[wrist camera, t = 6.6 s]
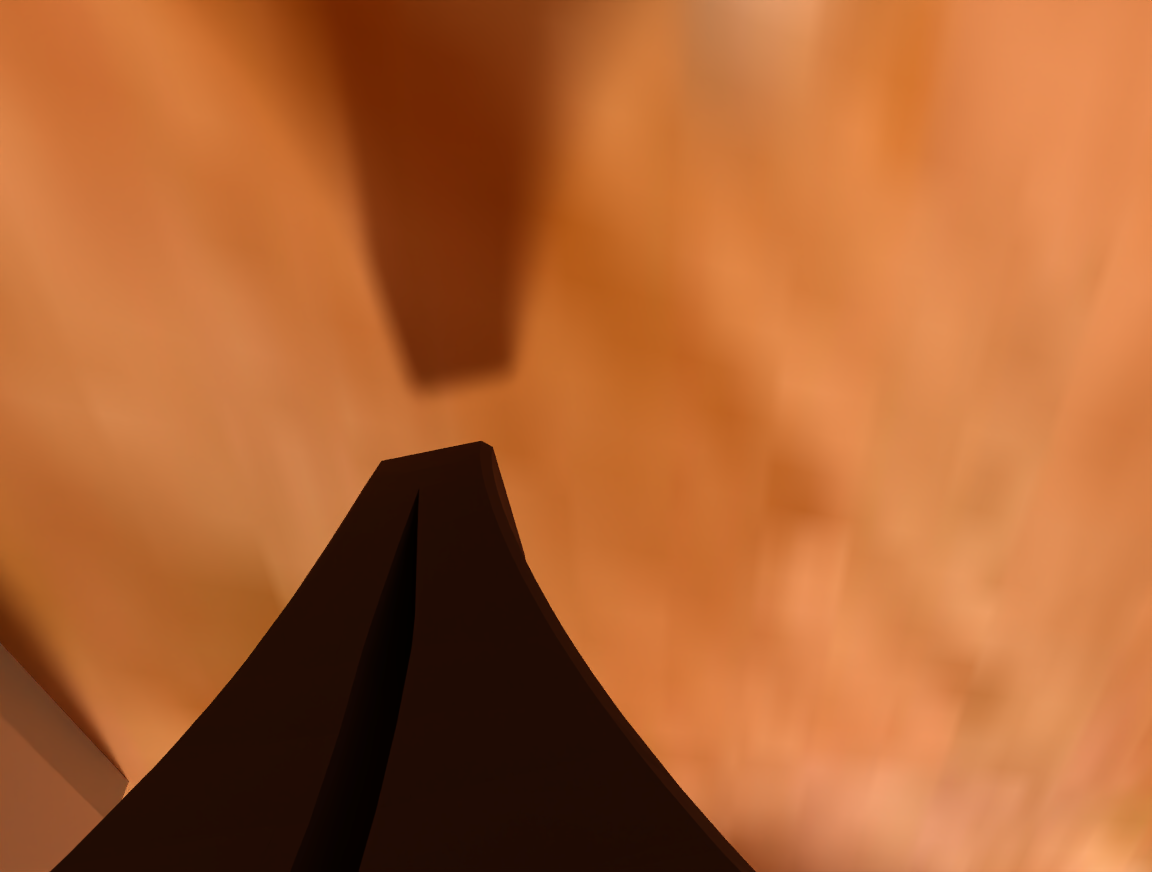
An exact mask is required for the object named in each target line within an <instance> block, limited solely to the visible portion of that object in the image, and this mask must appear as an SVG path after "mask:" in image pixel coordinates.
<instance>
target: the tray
mask: <svg viewBox="0 0 1152 872" xmlns="http://www.w3.org/2000/svg"><path fill="white" fill-rule="evenodd" d="M128 782H129V781H128V780H127V779H126V778H125V777H124V776H123V775H122V774H121V773H120V771H119V770H118V769H117V768H116V767H115V766H114V765H113V764H112V763H111V762H110V761H109V760H108V759H107V757H106V756H105V755H104V754H103V753H102V752H101V751H100V750H99V749H98V748H97V747H96V746H95V744H94V743H93V742H92V741H91V740H90V739H89V738H88V737H87V736H86V735H85V734H84V733H83V731H82V730H81V729H80V728H79V727H78V726H77V725H76V724H75V723H74V722H73V721H72V720H71V719H70V717H69V716H68V715H67V714H66V713H65V712H64V711H63V710H62V709H61V708H60V707H59V706H58V704H57V703H56V702H55V701H54V700H53V699H52V698H51V697H50V696H49V695H48V694H47V693H46V692H45V690H44V689H43V688H42V687H41V686H40V685H39V684H38V683H37V682H36V681H35V680H34V679H33V677H32V676H31V675H30V674H29V673H28V672H27V671H26V670H25V669H24V668H23V667H22V666H21V664H20V663H19V662H18V661H17V660H16V659H15V658H14V657H13V656H12V655H11V654H10V653H9V652H8V650H7V649H6V648H5V647H4V646H3V645H2V644H1V643H0V872H50V871H51V870H52V869H53V868H54V867H55V866H56V865H57V864H58V863H59V862H60V861H62V860H63V859H64V858H65V857H66V856H67V855H68V854H69V853H70V852H71V851H72V850H73V849H74V848H75V847H76V846H77V845H78V844H79V843H80V842H81V841H82V840H83V839H84V838H85V837H86V836H87V835H88V834H89V833H90V832H91V831H92V830H93V829H94V828H95V827H96V826H97V824H98V823H99V822H100V821H101V820H102V819H103V818H104V817H105V816H106V815H107V814H108V813H109V812H110V811H111V810H112V809H113V808H114V807H115V806H116V805H117V804H118V803H119V802H120V801H121V800H122V798H123V795H124V793H125V790H126V787H127V785H128Z"/></svg>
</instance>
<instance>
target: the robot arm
mask: <svg viewBox="0 0 1152 872" xmlns="http://www.w3.org/2000/svg"><path fill="white" fill-rule="evenodd" d="M50 872H755V871H754V870H753V868H752V867H751V866H750V865H749V864H748V863H747V862H746V861H745V860H744V859H743V858H742V857H741V856H740V854H739V853H738V852H737V851H736V850H735V849H734V848H733V847H732V846H731V845H730V844H729V843H728V841H727V840H726V839H725V838H724V837H723V836H722V835H721V833H720V832H719V831H718V830H717V829H716V828H715V827H714V825H713V824H712V823H711V822H710V821H709V820H708V819H707V817H706V816H705V815H704V814H703V813H702V812H701V811H700V809H699V808H698V807H697V806H696V805H695V804H694V803H693V801H692V800H691V799H690V798H689V797H688V796H687V795H686V793H685V792H684V791H683V790H682V789H681V788H680V786H679V785H678V784H677V783H676V781H675V780H674V779H673V778H672V776H671V775H670V774H669V773H668V771H667V770H666V769H665V768H664V766H663V765H662V764H661V763H660V761H659V760H658V759H657V758H656V756H655V755H654V754H653V753H652V751H651V750H650V749H649V748H648V746H647V745H646V744H645V743H644V741H643V740H642V739H641V738H640V736H639V735H638V734H637V732H636V731H635V730H634V729H633V727H632V726H631V725H630V724H629V722H628V721H627V720H626V719H625V717H624V716H623V715H622V713H621V712H620V711H619V709H618V708H617V707H616V705H615V704H614V702H613V701H612V700H611V698H610V697H609V695H608V694H607V693H606V691H605V690H604V688H603V687H602V686H601V684H600V683H599V681H598V680H597V679H596V677H595V676H594V674H593V673H592V671H591V670H590V668H589V667H588V665H587V664H586V662H585V661H584V659H583V658H582V656H581V655H580V653H579V652H578V650H577V649H576V647H575V646H574V644H573V643H572V641H571V640H570V638H569V636H568V635H567V633H566V632H565V630H564V628H563V627H562V625H561V624H560V622H559V620H558V619H557V617H556V615H555V614H554V612H553V610H552V608H551V607H550V605H549V603H548V601H547V599H546V598H545V596H544V594H543V592H542V591H541V589H540V587H539V585H538V583H537V582H536V580H535V578H534V576H533V574H532V572H531V570H530V568H529V566H528V564H527V562H526V560H525V555H524V551H523V548H522V544H521V541H520V538H519V534H518V531H517V527H516V524H515V521H514V517H513V514H512V511H511V507H510V504H509V500H508V497H507V494H506V490H505V487H504V483H503V480H502V477H501V473H500V470H499V467H498V463H497V460H496V456H495V453H494V450H493V447H492V446H490V445H488V444H486V443H484V442H483V441H478V442H473V443H468V444H463V445H458V446H453V447H448V448H443V449H438V450H433V451H429V452H424V453H419V454H414V455H409V456H404V457H399V458H394V459H389V460H384V461H381V463H380V464H379V466H378V467H377V469H376V470H375V472H374V473H373V475H372V476H371V478H370V479H369V481H368V482H367V484H366V485H365V487H364V488H363V490H362V491H361V493H360V495H359V496H358V498H357V499H356V501H355V503H354V504H353V506H352V507H351V509H350V511H349V512H348V514H347V515H346V517H345V519H344V520H343V522H342V523H341V525H340V526H339V528H338V530H337V531H336V533H335V534H334V536H333V537H332V539H331V540H330V542H329V544H328V545H327V547H326V548H325V550H324V551H323V553H322V554H321V556H320V557H319V559H318V560H317V562H316V563H315V565H314V566H313V568H312V569H311V571H310V572H309V574H308V575H307V577H306V578H305V580H304V581H303V583H302V584H301V586H300V587H299V589H298V590H297V592H296V593H295V594H294V596H293V597H292V599H291V600H290V602H289V603H288V604H287V606H286V607H285V609H284V610H283V611H282V613H281V614H280V615H279V617H278V618H277V619H276V621H275V622H274V623H273V625H272V626H271V627H270V629H269V630H268V632H267V633H266V634H265V636H264V637H263V638H262V640H261V641H260V642H259V644H258V645H257V646H256V648H255V649H254V650H253V652H252V653H251V654H250V656H249V657H248V659H247V660H246V661H245V662H244V664H243V665H242V666H241V667H240V669H239V670H238V671H237V672H236V674H235V675H234V676H233V677H232V679H231V680H230V681H229V682H228V684H227V685H226V686H225V687H224V688H223V690H222V691H221V692H220V693H219V694H218V696H217V697H216V698H215V699H214V700H213V702H212V703H211V704H210V705H209V706H208V707H207V709H206V710H205V711H204V712H203V713H202V714H201V715H200V716H199V718H198V719H197V720H196V721H195V722H194V723H193V724H192V726H191V727H190V728H189V729H188V730H187V731H186V732H185V734H184V735H183V736H182V737H181V738H180V739H179V740H178V742H177V743H176V744H175V745H174V746H173V747H172V748H171V749H170V750H169V752H168V753H167V754H166V755H165V756H164V757H163V758H162V759H161V760H160V761H159V762H158V763H157V765H156V766H155V767H154V768H153V769H152V770H151V771H150V772H149V773H148V774H147V775H146V776H145V777H144V778H143V779H142V780H141V781H140V782H139V783H138V784H137V785H136V786H135V787H134V788H133V789H132V790H131V791H130V792H129V793H128V794H127V795H126V796H125V797H124V798H123V799H122V800H121V801H120V802H119V803H118V804H117V805H116V806H115V807H114V808H113V809H112V810H111V811H110V812H109V813H108V814H107V815H106V816H105V817H104V818H103V819H102V820H101V821H100V822H99V823H98V824H97V826H96V827H95V828H94V829H93V830H92V831H91V832H90V833H89V834H88V835H87V836H86V837H85V838H84V839H83V840H82V841H81V842H80V843H79V844H78V845H77V846H76V847H75V848H74V849H73V850H72V851H71V852H70V853H69V854H68V855H67V856H66V857H65V858H64V859H63V860H62V861H60V862H59V863H58V864H57V865H56V866H55V867H54V868H53V869H52V870H51V871H50Z"/></svg>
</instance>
